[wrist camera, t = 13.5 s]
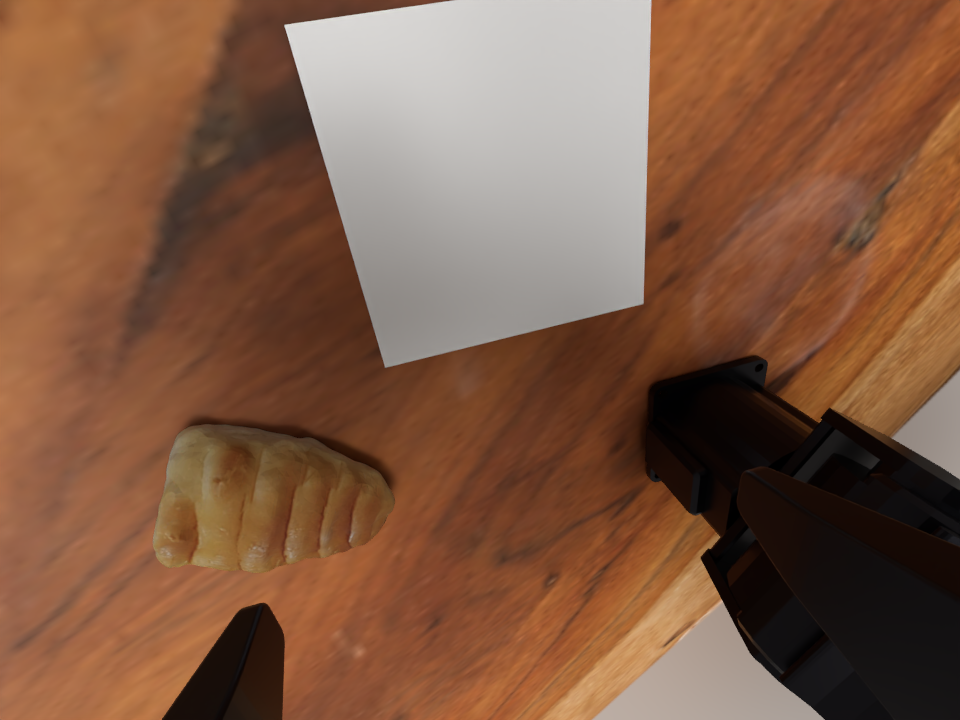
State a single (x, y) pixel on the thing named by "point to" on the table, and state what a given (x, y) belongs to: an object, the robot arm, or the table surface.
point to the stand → (485, 162)
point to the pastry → (263, 500)
